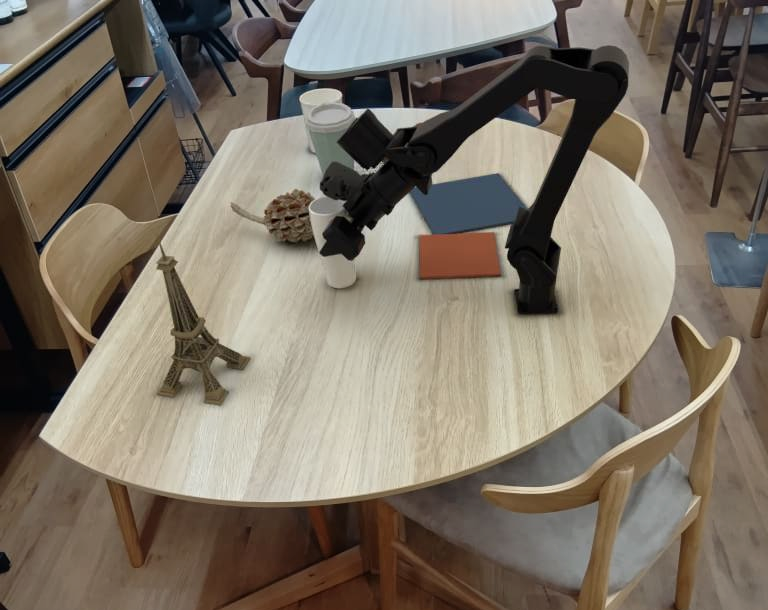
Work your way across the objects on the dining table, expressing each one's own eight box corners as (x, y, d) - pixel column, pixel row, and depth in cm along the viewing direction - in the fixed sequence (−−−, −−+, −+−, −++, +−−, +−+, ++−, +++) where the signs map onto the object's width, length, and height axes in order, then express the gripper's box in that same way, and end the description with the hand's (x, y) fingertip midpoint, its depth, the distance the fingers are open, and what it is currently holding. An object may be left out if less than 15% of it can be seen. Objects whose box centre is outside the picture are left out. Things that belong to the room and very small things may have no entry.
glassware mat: (534, 219, 129) (534, 217, 129) (435, 237, 127) (435, 235, 127) (498, 175, 144) (498, 173, 143) (408, 190, 141) (408, 188, 141)
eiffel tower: (220, 405, 97) (172, 258, 80) (157, 394, 100) (96, 250, 83) (250, 358, 104) (211, 214, 87) (190, 350, 107) (141, 208, 90)
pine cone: (342, 230, 131) (336, 183, 124) (325, 256, 125) (318, 208, 118) (242, 220, 137) (231, 174, 130) (220, 244, 130) (207, 198, 123)
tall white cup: (355, 293, 115) (343, 215, 105) (318, 291, 116) (302, 214, 106) (364, 270, 120) (353, 194, 109) (328, 269, 121) (314, 194, 111)
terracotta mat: (500, 276, 116) (500, 273, 116) (419, 279, 117) (419, 276, 117) (493, 234, 126) (493, 232, 126) (419, 237, 127) (419, 235, 127)
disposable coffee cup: (368, 183, 145) (362, 114, 135) (321, 194, 143) (312, 125, 132) (352, 164, 152) (345, 97, 142) (307, 175, 150) (297, 107, 140)
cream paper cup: (301, 144, 162) (293, 94, 154) (338, 135, 165) (332, 85, 157) (315, 159, 155) (308, 107, 147) (353, 149, 158) (348, 98, 150)
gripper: (365, 125, 107) (311, 184, 117) (327, 178, 94) (269, 240, 104) (414, 174, 110) (357, 228, 121) (384, 232, 98) (323, 287, 108)
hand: (328, 243), depth 113 cm, fingers closed on tall white cup, 6 cm apart
